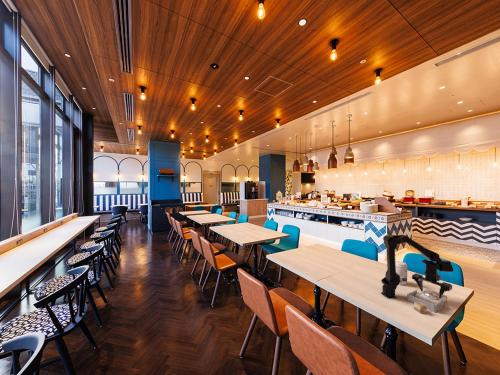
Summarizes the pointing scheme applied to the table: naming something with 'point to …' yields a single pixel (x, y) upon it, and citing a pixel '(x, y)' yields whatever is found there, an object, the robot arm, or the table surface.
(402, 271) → the supplement can
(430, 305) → the housing
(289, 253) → the table surface
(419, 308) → the pedestal
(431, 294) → the disc
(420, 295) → the tray
